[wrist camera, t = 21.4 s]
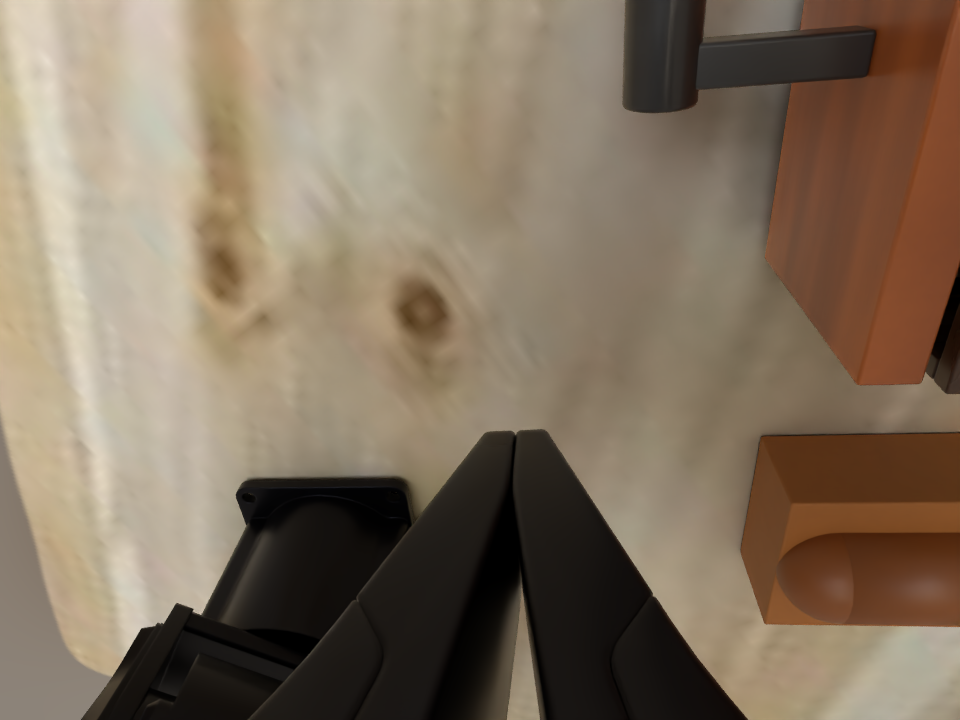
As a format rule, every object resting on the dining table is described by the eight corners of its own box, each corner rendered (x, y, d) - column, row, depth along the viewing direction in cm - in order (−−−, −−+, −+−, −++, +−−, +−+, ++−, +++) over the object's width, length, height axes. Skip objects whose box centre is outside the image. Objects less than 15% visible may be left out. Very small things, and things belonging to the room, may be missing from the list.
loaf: (739, 552, 25) (778, 669, 21) (760, 435, 22) (810, 545, 18) (995, 552, 24) (1088, 675, 20) (1053, 430, 21) (1176, 545, 17)
